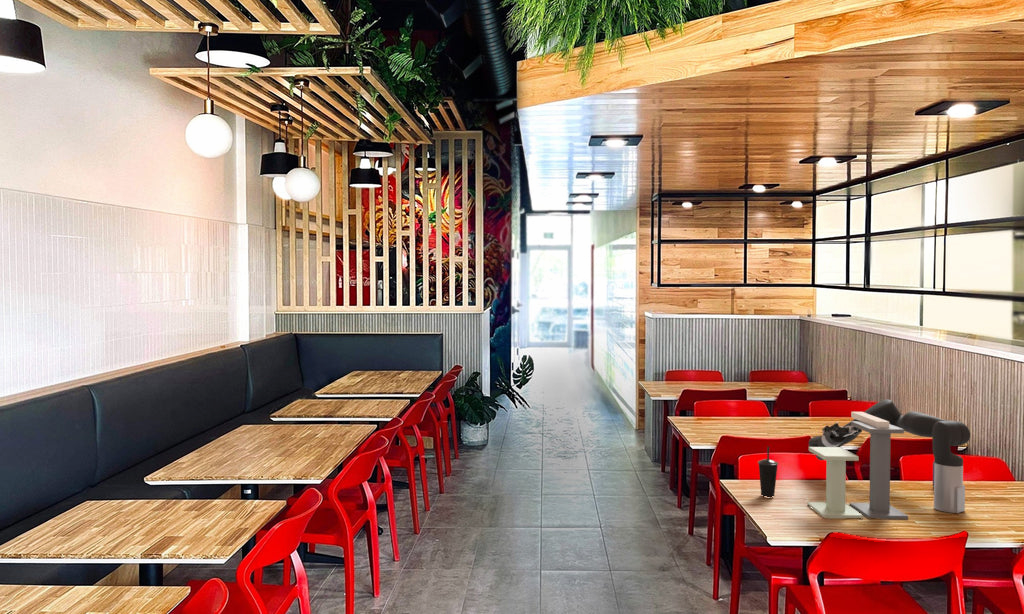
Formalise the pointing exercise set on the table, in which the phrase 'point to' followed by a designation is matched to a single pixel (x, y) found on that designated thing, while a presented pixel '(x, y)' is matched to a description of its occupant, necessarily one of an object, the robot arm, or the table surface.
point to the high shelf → (879, 473)
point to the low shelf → (835, 483)
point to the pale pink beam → (870, 419)
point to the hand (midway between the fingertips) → (848, 425)
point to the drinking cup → (767, 475)
